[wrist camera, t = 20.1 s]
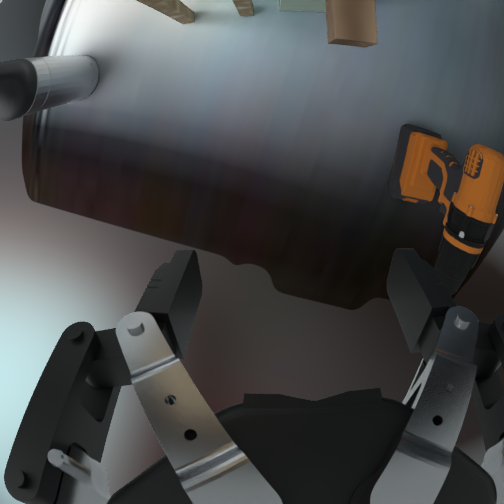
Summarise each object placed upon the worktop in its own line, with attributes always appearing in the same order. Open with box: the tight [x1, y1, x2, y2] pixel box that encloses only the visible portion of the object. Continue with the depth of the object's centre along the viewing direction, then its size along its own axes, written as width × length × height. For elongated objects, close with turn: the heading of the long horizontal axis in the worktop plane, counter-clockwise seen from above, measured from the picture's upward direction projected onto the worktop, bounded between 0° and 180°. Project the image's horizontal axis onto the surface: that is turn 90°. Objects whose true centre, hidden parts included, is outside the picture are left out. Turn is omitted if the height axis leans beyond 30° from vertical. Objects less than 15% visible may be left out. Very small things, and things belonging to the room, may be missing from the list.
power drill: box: [389, 124, 504, 295], centre depth 37 cm, size 22×7×25 cm, turn 176°
